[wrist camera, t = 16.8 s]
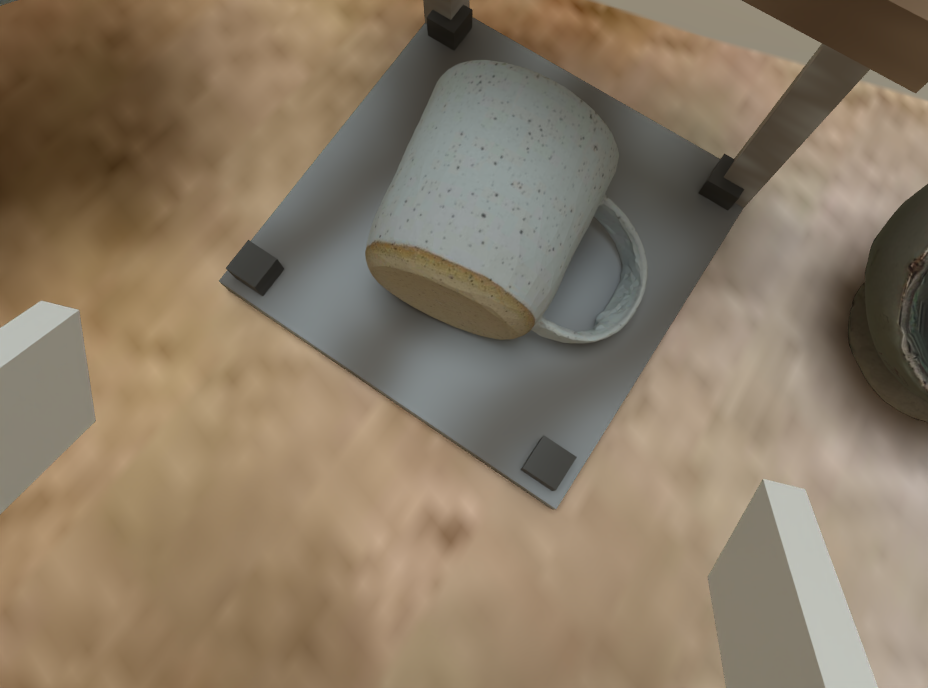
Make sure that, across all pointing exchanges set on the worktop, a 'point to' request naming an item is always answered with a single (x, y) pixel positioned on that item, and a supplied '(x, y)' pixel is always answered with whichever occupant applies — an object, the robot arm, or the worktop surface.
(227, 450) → the worktop surface
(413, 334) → the shelf
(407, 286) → the ceramic mug
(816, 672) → the robot arm
